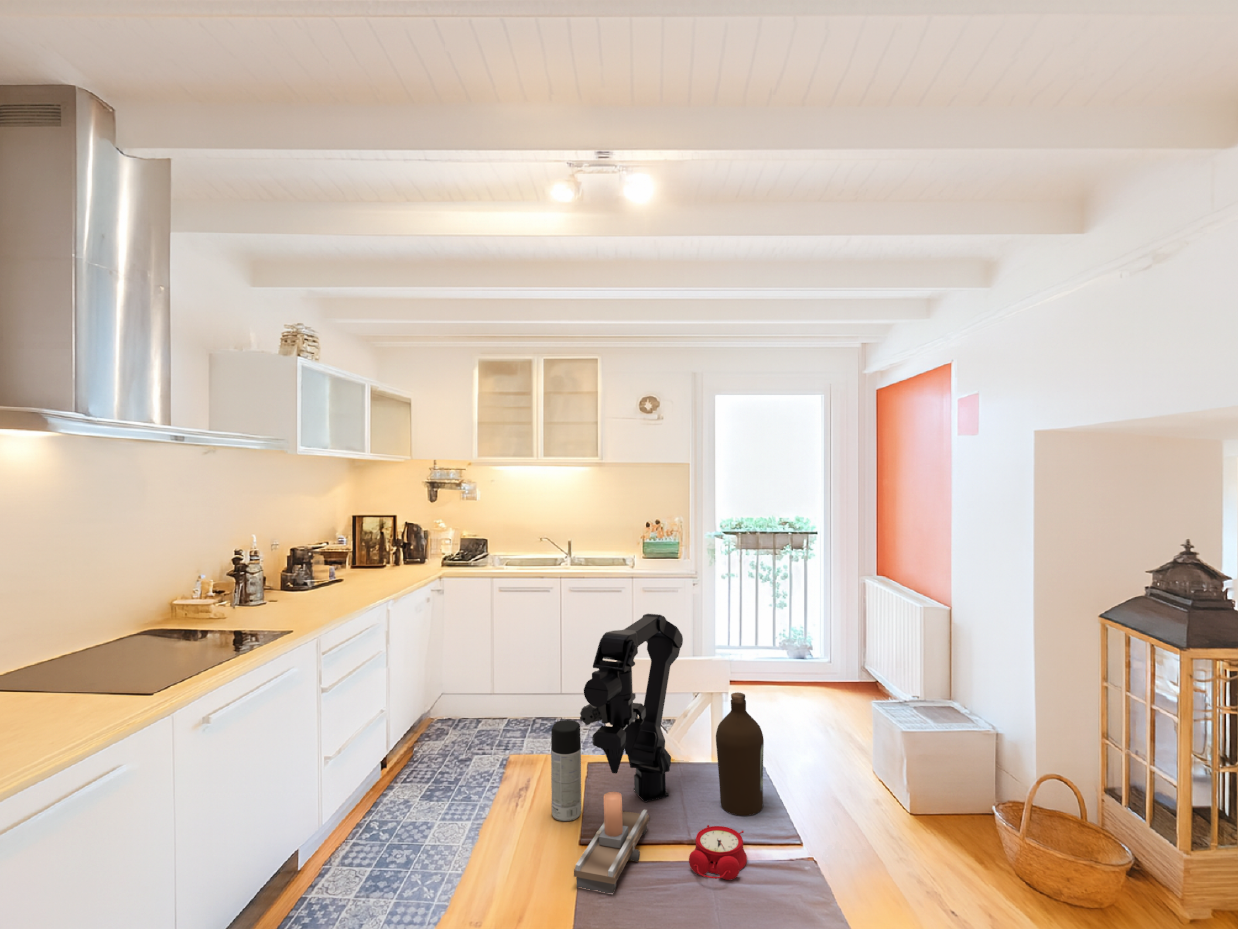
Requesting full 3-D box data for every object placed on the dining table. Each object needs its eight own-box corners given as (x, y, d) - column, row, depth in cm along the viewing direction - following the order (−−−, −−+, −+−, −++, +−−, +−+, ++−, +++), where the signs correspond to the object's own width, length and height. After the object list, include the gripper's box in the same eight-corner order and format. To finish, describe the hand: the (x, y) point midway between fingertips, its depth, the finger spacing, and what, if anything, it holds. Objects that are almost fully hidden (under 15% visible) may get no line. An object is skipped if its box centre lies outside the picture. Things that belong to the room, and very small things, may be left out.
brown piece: (609, 823, 141) (609, 803, 142) (654, 831, 138) (653, 810, 138) (569, 886, 121) (568, 863, 121) (620, 896, 117) (619, 872, 117)
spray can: (585, 808, 148) (584, 720, 148) (576, 824, 142) (575, 732, 142) (557, 804, 150) (556, 718, 150) (547, 820, 143) (546, 729, 143)
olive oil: (722, 819, 142) (719, 704, 142) (714, 794, 153) (710, 687, 153) (771, 816, 142) (767, 702, 142) (759, 792, 153) (755, 685, 153)
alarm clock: (751, 828, 132) (737, 852, 118) (751, 862, 131) (737, 890, 117) (700, 820, 136) (682, 842, 122) (700, 853, 134) (681, 879, 121)
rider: (607, 831, 133) (606, 788, 133) (628, 834, 131) (627, 791, 131) (599, 845, 128) (597, 801, 128) (620, 848, 126) (618, 804, 126)
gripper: (599, 675, 153) (601, 742, 153) (568, 703, 135) (570, 778, 135) (645, 679, 149) (647, 747, 149) (618, 708, 132) (621, 785, 132)
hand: (621, 763), depth 142 cm, fingers open, 9 cm apart
